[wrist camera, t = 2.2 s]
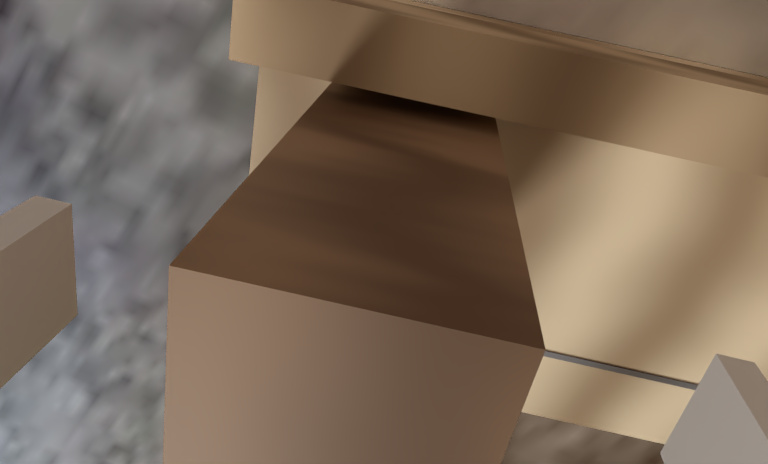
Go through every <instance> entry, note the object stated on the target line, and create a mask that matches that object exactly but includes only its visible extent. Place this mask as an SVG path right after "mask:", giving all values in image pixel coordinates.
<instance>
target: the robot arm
mask: <svg viewBox="0 0 768 464" xmlns="http://www.w3.org/2000/svg"><path fill="white" fill-rule="evenodd" d="M77 315H78V314H77V295H76V277H75V258H74V240H73V221H72V204H70V203H65V202H61V201H57V200H53V199H48V198H44V197H40V196H33V197H32V198H30V199H28V200H27V201H25V202H23V203H22V204H20V205H18V206H16V207H15V208H13V209H11V210H10V211H8V212H6V213H5V214H3V215H1V216H0V388H1V387H2V386H4V385H5V384H6V383H7V382H8V381H9V380H10V379H11V378H12V377H13V376H14V375H15V374H16V373H17V372H18V371H19V370H20V369H21V368H22V367H23V366H24V365H25V364H27V363H28V362H29V361H30V360H31V359H32V358H33V357H34V356H35V355H36V354H37V353H38V352H39V351H40V350H41V349H42V348H43V347H44V346H45V345H46V344H47V343H48V342H50V341H51V340H52V339H53V338H54V337H55V336H56V335H57V334H58V333H59V332H60V331H61V330H62V329H63V328H64V327H65V326H66V325H67V324H68V323H69V322H70V321H71V320H73V319H74V318H75V317H76V316H77ZM660 454H661V457H662V459H663V462H664V464H768V381H767V380H766V378H765V377H764V375H763V374H762V372H761V371H760V369H759V368H758V366H757V365H756V363H755V362H751V361H746V360H742V359H738V358H733V357H729V356H725V355H720V354H715V356H714V358H713V360H712V362H711V363H710V365H709V367H708V369H707V370H706V372H705V374H704V376H703V378H702V379H701V381H700V383H699V385H698V386H697V388H696V390H695V392H694V394H693V395H692V397H691V399H690V401H689V403H688V404H687V406H686V408H685V410H684V411H683V413H682V415H681V417H680V419H679V420H678V422H677V424H676V426H675V427H674V429H673V431H672V433H671V435H670V436H669V438H668V440H667V442H666V444H665V445H664V447H663V449H662V451H661V452H660Z"/></svg>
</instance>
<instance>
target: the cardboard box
mask: <svg viewBox="0 0 768 464" xmlns="http://www.w3.org/2000/svg"><path fill="white" fill-rule="evenodd" d="M545 350H546V349H545V345H544V340H543V335H542V331H541V326H540V322H539V317H538V312H537V308H536V303H535V299H534V294H533V289H532V285H531V280H530V275H529V271H528V266H527V262H526V257H525V252H524V248H523V243H522V239H521V234H520V229H519V225H518V220H517V216H516V211H515V206H514V202H513V197H512V192H511V188H510V183H509V179H508V174H507V169H506V165H505V160H504V156H503V151H502V146H501V142H500V137H499V133H498V128H497V123H496V119H495V118H493V117H489V116H484V115H480V114H475V113H471V112H466V111H461V110H457V109H452V108H448V107H443V106H439V105H434V104H430V103H425V102H420V101H416V100H411V99H407V98H402V97H398V96H393V95H388V94H384V93H379V92H375V91H370V90H366V89H361V88H356V87H352V86H347V85H343V84H338V83H334V82H332V83H331V84H330V85H329V86H328V87H327V88H326V89H325V90H324V92H323V93H322V94H321V95H320V96H319V97H318V98H317V99H316V101H315V102H314V103H313V104H312V105H311V106H310V107H309V108H308V110H307V111H306V112H305V113H304V114H303V115H302V116H301V117H300V119H299V120H298V121H297V122H296V123H295V124H294V125H293V126H292V128H291V129H290V130H289V131H288V132H287V133H286V134H285V136H284V137H283V138H282V139H281V140H280V141H279V142H278V143H277V145H276V146H275V147H274V148H273V149H272V150H271V151H270V152H269V154H268V155H267V156H266V157H265V158H264V159H263V160H262V161H261V163H260V164H259V165H258V166H257V167H256V168H255V169H254V170H253V172H252V173H251V174H250V175H249V176H248V177H247V178H246V179H245V181H244V182H243V183H242V184H241V185H240V186H239V187H238V188H237V190H236V191H235V192H234V193H233V194H232V195H231V196H230V198H229V199H228V200H227V201H226V202H225V203H224V204H223V205H222V207H221V208H220V209H219V210H218V211H217V212H216V213H215V214H214V216H213V217H212V218H211V219H210V220H209V221H208V222H207V223H206V225H205V226H204V227H203V228H202V229H201V230H200V231H199V232H198V234H197V235H196V236H195V237H194V238H193V239H192V240H191V241H190V243H189V244H188V245H187V246H186V247H185V248H184V249H183V250H182V252H181V253H180V254H179V255H178V256H177V257H176V258H175V259H174V261H173V262H172V263H171V264H170V265H169V285H168V316H167V348H166V379H165V411H164V442H163V464H501V462H502V460H503V457H504V455H505V452H506V449H507V447H508V444H509V442H510V439H511V437H512V434H513V432H514V429H515V427H516V424H517V421H518V419H519V416H520V414H521V411H522V409H523V406H524V404H525V401H526V399H527V396H528V394H529V391H530V388H531V386H532V383H533V381H534V378H535V376H536V373H537V371H538V368H539V366H540V363H541V360H542V358H543V355H544V353H545Z"/></svg>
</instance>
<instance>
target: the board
mask: <svg viewBox="0 0 768 464" xmlns="http://www.w3.org/2000/svg"><path fill="white" fill-rule="evenodd" d="M229 60H233V61H238V62H242V63H247V64H251V65H256V66H259V76H258V87H257V98H256V108H255V119H254V129H253V140H252V150H251V161H250V171H249V175H250V174H251V173H252V172H253V170H254V169H255V168H256V167H257V166H258V165H259V164H260V163H261V161H262V160H263V159H264V158H265V157H266V156H267V155H268V154H269V152H270V151H271V150H272V149H273V148H274V147H275V146H276V145H277V143H278V142H279V141H280V140H281V139H282V138H283V137H284V136H285V134H286V133H287V132H288V131H289V130H290V129H291V128H292V126H293V125H294V124H295V123H296V122H297V121H298V120H299V119H300V117H301V116H302V115H303V114H304V113H305V112H306V111H307V110H308V108H309V107H310V106H311V105H312V104H313V103H314V102H315V101H316V99H317V98H318V97H319V96H320V95H321V94H322V93H323V92H324V90H325V89H326V88H327V87H328V86H329V85H330V84H331V83H332V82H334V83H338V84H343V85H347V86H352V87H356V88H361V89H366V90H370V91H375V92H379V93H384V94H388V95H393V96H398V97H402V98H407V99H411V100H416V101H420V102H425V103H430V104H434V105H439V106H443V107H448V108H452V109H457V110H461V111H466V112H471V113H475V114H480V115H484V116H489V117H493V118H495V119H496V123H497V128H498V133H499V137H500V142H501V146H502V151H503V156H504V160H505V165H506V169H507V174H508V179H509V183H510V188H511V192H512V197H513V202H514V206H515V211H516V216H517V220H518V225H519V229H520V234H521V239H522V243H523V248H524V252H525V257H526V262H527V266H528V271H529V275H530V280H531V285H532V289H533V294H534V299H535V303H536V308H537V312H538V317H539V322H540V326H541V331H542V335H543V340H544V345H545V349H546V350H545V353H544V355H543V358H542V360H541V363H540V366H539V368H538V371H537V373H536V376H535V378H534V381H533V383H532V386H531V388H530V391H529V394H528V396H527V399H526V401H525V404H524V406H523V409H522V411H521V412H524V413H529V414H533V415H538V416H542V417H546V418H551V419H555V420H560V421H564V422H569V423H573V424H577V425H582V426H586V427H591V428H595V429H600V430H604V431H608V432H613V433H617V434H622V435H626V436H631V437H635V438H639V439H644V440H648V441H653V442H657V443H662V444H666V442H667V440H668V438H669V436H670V435H671V433H672V431H673V429H674V427H675V426H676V424H677V422H678V420H679V419H680V417H681V415H682V413H683V411H684V410H685V408H686V406H687V404H688V403H689V401H690V399H691V397H692V395H693V394H694V392H695V390H696V388H697V386H698V385H699V383H700V381H701V379H702V378H703V376H704V374H705V372H706V370H707V369H708V367H709V365H710V363H711V362H712V360H713V358H714V356H715V354H720V355H725V356H729V357H733V358H738V359H742V360H746V361H751V362H755V363H756V365H757V366H758V368H759V369H760V371H761V372H762V374H763V375H764V377H765V378H766V380H767V381H768V78H766V77H762V76H757V75H753V74H748V73H743V72H739V71H734V70H730V69H725V68H720V67H716V66H711V65H706V64H702V63H697V62H693V61H688V60H683V59H679V58H674V57H670V56H665V55H660V54H656V53H651V52H646V51H642V50H637V49H633V48H628V47H623V46H619V45H614V44H610V43H605V42H600V41H596V40H591V39H586V38H582V37H577V36H573V35H568V34H563V33H559V32H554V31H550V30H545V29H540V28H536V27H531V26H526V25H522V24H517V23H513V22H508V21H503V20H499V19H494V18H490V17H485V16H480V15H476V14H471V13H466V12H462V11H457V10H453V9H448V8H443V7H439V6H434V5H430V4H425V3H420V2H416V1H411V0H233V8H232V22H231V36H230V50H229Z"/></svg>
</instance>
